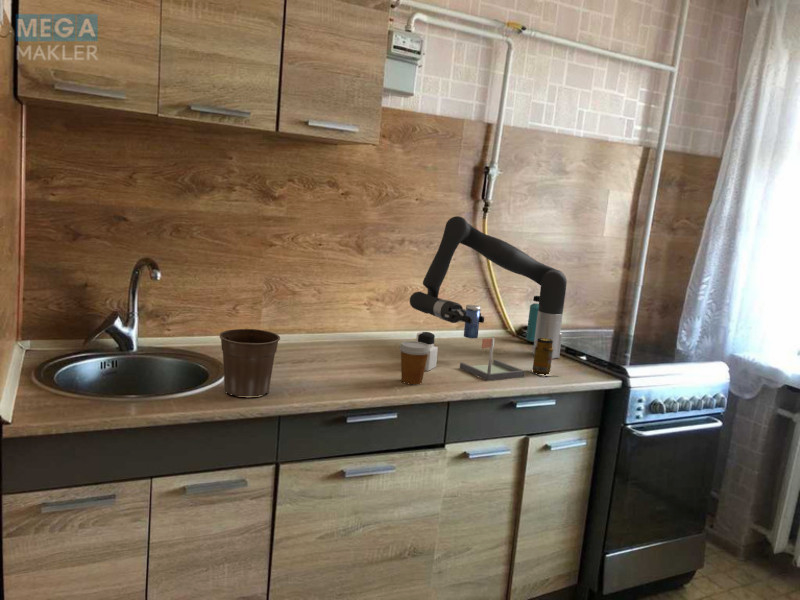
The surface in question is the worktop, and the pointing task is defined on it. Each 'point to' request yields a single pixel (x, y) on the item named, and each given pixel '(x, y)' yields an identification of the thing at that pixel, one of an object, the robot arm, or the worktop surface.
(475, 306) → the navy canister
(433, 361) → the medicine bottle
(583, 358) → the worktop surface
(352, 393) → the worktop surface
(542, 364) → the condiment
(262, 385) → the plant pot
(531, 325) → the beverage bottle
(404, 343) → the disposable coffee cup
